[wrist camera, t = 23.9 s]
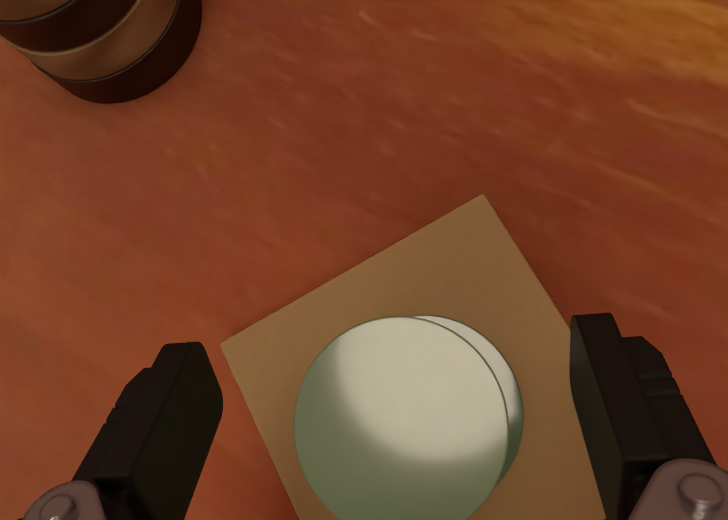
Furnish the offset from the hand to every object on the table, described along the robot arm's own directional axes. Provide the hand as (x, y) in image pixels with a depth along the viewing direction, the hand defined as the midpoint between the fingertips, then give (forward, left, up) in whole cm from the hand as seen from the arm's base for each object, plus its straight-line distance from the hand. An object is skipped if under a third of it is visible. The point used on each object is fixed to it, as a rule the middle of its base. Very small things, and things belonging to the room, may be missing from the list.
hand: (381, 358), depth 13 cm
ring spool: (0, -1, -10) cm, 10 cm away
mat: (-1, -1, -10) cm, 10 cm away
